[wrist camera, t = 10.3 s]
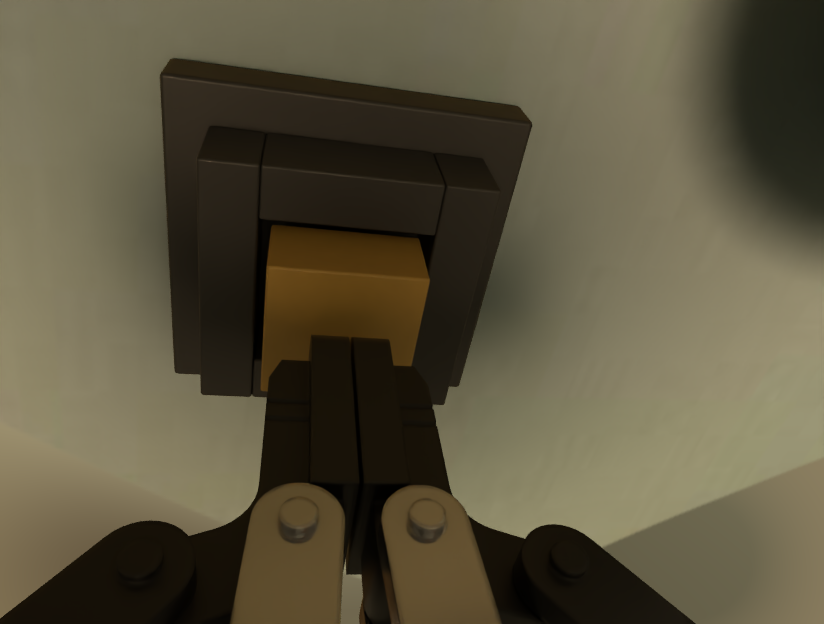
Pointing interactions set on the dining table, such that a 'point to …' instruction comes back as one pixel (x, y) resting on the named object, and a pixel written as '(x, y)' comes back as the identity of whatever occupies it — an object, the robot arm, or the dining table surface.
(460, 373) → the button base
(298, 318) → the orange square block
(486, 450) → the dining table surface
